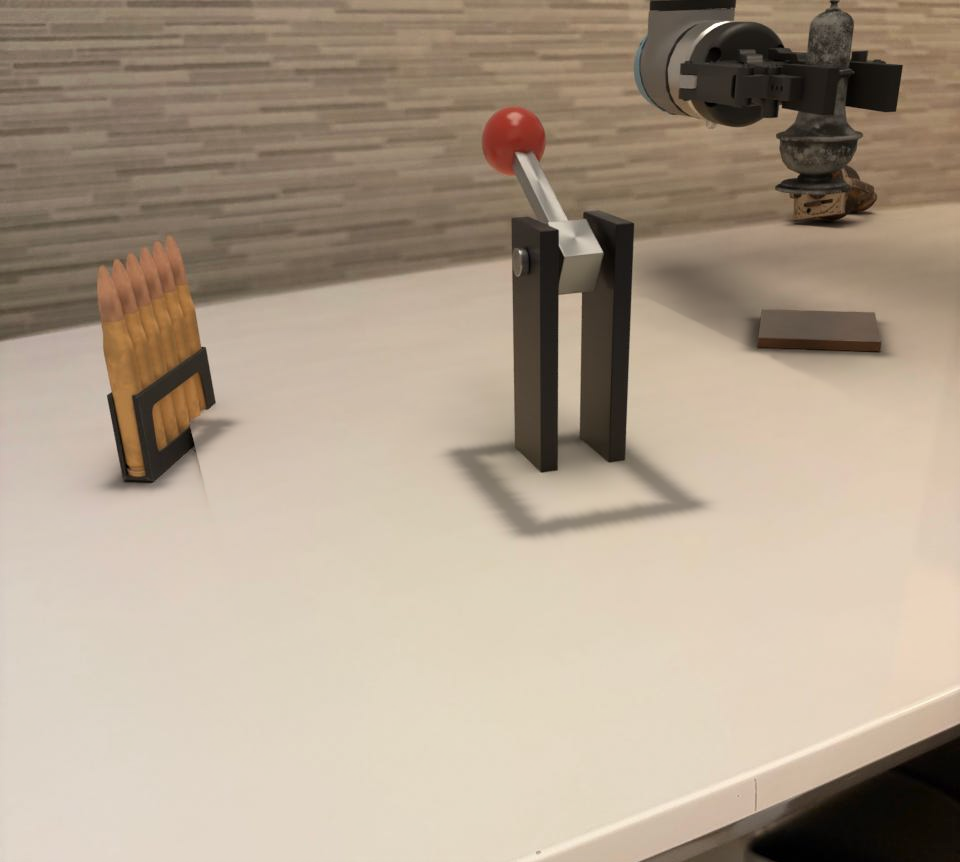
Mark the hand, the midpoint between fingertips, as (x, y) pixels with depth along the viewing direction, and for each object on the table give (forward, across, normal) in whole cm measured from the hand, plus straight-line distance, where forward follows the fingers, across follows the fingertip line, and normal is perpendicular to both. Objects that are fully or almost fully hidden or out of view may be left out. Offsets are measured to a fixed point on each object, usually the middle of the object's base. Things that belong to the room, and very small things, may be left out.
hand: (862, 90), depth 69 cm
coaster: (-8, -3, -18) cm, 20 cm away
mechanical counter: (-56, -28, -18) cm, 66 cm away
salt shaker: (-5, 0, -7) cm, 9 cm away
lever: (+10, +24, -5) cm, 27 cm away
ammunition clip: (+5, +46, -18) cm, 50 cm away
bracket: (+16, +23, -18) cm, 33 cm away
